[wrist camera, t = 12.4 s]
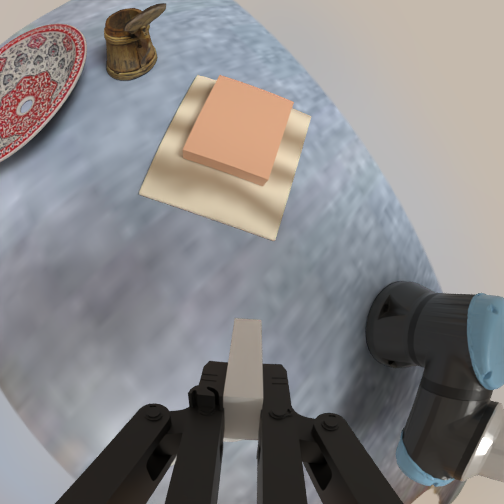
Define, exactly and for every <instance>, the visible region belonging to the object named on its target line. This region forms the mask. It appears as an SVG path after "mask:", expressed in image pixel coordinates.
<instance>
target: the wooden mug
mask: <svg viewBox="0 0 504 504" xmlns="http://www.w3.org/2000/svg"><path fill="white" fill-rule="evenodd" d="M165 9H166V4H164V3H162V4H156V5H153V6H150V7H149V8H147V9H145V10H144V11H141V10H139V9H136V8H129V9H123V10H120V11H118V12H116V13H114V14H112V15H111V16H109V17H108V18H107V20H106V24H105V28H104V37H105V39H106V46H107V72H108V74H109V75H110V76H111V77H113V78H115V79H118V80H131V79H135V78H137V77H139V76H142V75H143V74H145V73H147V72H148V71H149V70H150V69H151V68H152V67H153V66H154V65H155V63H156V61H157V54H156V50H155V48H154V46H153V45H152V42H151V38H150V35H149V28H150V25H149V24H150V23H151V22H152V21H153V20H155V19H156V18H157V17H159V16H160V15H161V14H162V13H163V12H164V11H165Z"/></svg>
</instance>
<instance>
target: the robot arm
mask: <svg viewBox="0 0 504 504" xmlns="http://www.w3.org/2000/svg"><path fill="white" fill-rule="evenodd" d="M366 339H367V344H368V348H369V350H370V352H371V354H372V356H373V357H374V358H375V359H376V360H377V361H378V362H380V363H382V364H384V365H387V366H389V367H393V368H403V367H413V366H421V367H424V372H423V376H422V379H421V382H420V385H419V389H418V392H417V395H416V398H415V401H414V404H413V406H412V409H411V412H410V415H409V417H408V420H407V422H406V425H405V427H404V428H403V430H402V432H401V439H400V441H399V444H398V447H397V450H396V459H397V464H398V466H399V468H400V469H401V470H402V472H403V473H404V474H405V475H406V476H408V477H409V478H410V479H412V480H414V481H415V482H417V483H420V484H423V485H427V486H431V485H432V484H433V485H434V486H435V487H436V486H444V485H447V484H449V483H450V482H452V481H453V480H454V479H457V480H460V481H465V480H467V479H469V478H472V477H474V476H476V475H480V476H484V477H487V478H490V479H494V480H497V481H501V482H504V409H503V407H502V404H501V403H498V402H493V401H491V400H490V398H491V395H492V392H493V390H494V389H498V388H499V387H501V386H502V385H503V384H504V298H503V297H500V296H492V295H486V294H484V293H478V294H476V295H470V294H446V293H435V292H433V291H431V290H429V289H427V288H426V287H424V286H422V285H420V284H418V283H415V282H405V281H401V282H395V283H393V284H391V285H389V286H387V287H386V288H385V289H384V290H383V291H382V292H381V293H380V294H379V295H378V296H377V298H376V299H375V301H374V303H373V305H372V307H371V309H370V312H369V315H368V319H367V325H366ZM188 397H189V407H188V408H186V409H184V410H178V411H169V410H168V409H167V408H166V407H165V406H163V405H160V404H148V405H145V406H143V407H142V408H140V409H139V410H138V412H137V413H136V414H135V415H134V416H133V417H132V418H131V420H130V421H129V422H128V423H127V424H126V425H125V426H124V427H123V429H122V430H121V431H120V432H119V433H118V434H117V435H116V437H115V438H114V439H113V440H112V441H111V442H110V443H109V444H108V446H107V447H106V448H105V449H104V450H103V451H102V452H101V453H100V455H99V456H98V457H97V458H96V459H95V460H94V461H93V462H92V464H91V465H90V466H89V467H88V468H87V469H86V470H85V471H84V472H83V474H82V475H81V476H80V477H79V478H78V479H77V480H76V481H75V482H74V483H73V485H72V486H71V487H70V488H69V489H68V490H67V491H66V492H65V493H64V494H63V496H62V497H61V498H60V499H59V500H58V501H57V502H56V503H55V504H146V503H147V501H148V500H149V498H150V497H151V495H152V494H153V492H154V491H155V489H156V487H157V486H158V484H159V483H160V481H161V480H162V478H163V477H164V475H165V474H166V472H167V470H168V469H169V467H170V466H171V464H172V463H173V461H174V459H175V458H176V461H175V465H174V469H173V473H172V477H171V481H170V485H169V489H168V493H167V497H166V501H165V504H217V499H218V490H219V481H220V472H221V463H222V455H223V438H228V439H244V440H258V450H257V458H256V459H257V504H307V497H306V489H305V481H304V473H303V465H302V462H303V464H304V466H305V468H306V470H307V472H308V474H309V476H310V478H311V480H312V483H313V485H314V487H315V489H316V491H317V493H318V495H319V497H320V499H321V501H322V503H323V504H403V502H402V501H401V500H400V498H399V497H398V495H397V494H396V493H395V491H394V490H393V488H392V487H391V486H390V484H389V483H388V481H387V480H386V478H385V477H384V476H383V474H382V473H381V471H380V470H379V468H378V467H377V466H376V464H375V463H374V461H373V460H372V458H371V457H370V456H369V454H368V453H367V451H366V450H365V448H364V447H363V445H362V444H361V443H360V441H359V440H358V438H357V437H356V435H355V434H354V432H353V431H352V429H351V428H350V427H349V425H348V424H347V422H346V421H345V420H344V419H343V418H342V417H341V416H339V415H337V414H333V413H324V414H321V415H319V416H318V417H317V418H316V419H312V418H308V417H304V416H301V415H299V414H298V413H296V412H295V411H294V409H293V408H292V406H291V399H290V392H289V385H288V379H287V371H286V370H285V368H284V367H283V366H282V365H281V364H262V329H261V320H254V319H237V318H235V321H234V328H233V334H232V341H231V347H230V354H229V361H228V363H227V362H215V361H209V362H208V363H207V364H206V365H205V366H204V368H203V371H202V375H201V379H200V383H199V385H198V386H195V387H193V388H192V389H190V391H189V392H188ZM176 456H177V457H176Z"/></svg>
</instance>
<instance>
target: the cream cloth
mask: <svg viewBox="0 0 504 504" xmlns="http://www.w3.org/2000/svg"><path fill="white" fill-rule="evenodd" d="M215 83H216V80H213V79H210V78H206V77H203V76H199V75H197V77H196V78H195V80H194V82H193V84H192V85H191V87H190V89H189V90H188V92H187V94H186V96H185V98H184V99H183V101H182V103H181V105H180V107H179V109H178V111H177V112H176V114H175V116H174V118H173V120H172V122H171V124H170V126H169V128H168V130H167V132H166V134H165V136H164V138H163V140H162V142H161V144H160V146H159V149H158V151H157V153H156V155H155V157H154V159H153V162H152V164H151V166H150V168H149V171H148V173H147V175H146V177H145V180H144V182H143V185H142V187H141V189H140V192H139V195H141V196H144V197H147V198H150V199H153V200H156V201H159V202H162V203H165V204H168V205H171V206H174V207H177V208H180V209H183V210H186V211H189V212H192V213H194V214H197V215H200V216H203V217H206V218H209V219H212V220H215V221H218V222H220V223H223V224H226V225H229V226H232V227H235V228H238V229H240V230H243V231H246V232H249V233H252V234H255V235H257V236H260V237H263V238H266V239H269V240H271V241H275V239H276V236H277V232H278V229H279V226H280V222H281V219H282V216H283V212H284V209H285V206H286V202H287V199H288V196H289V192H290V189H291V185H292V182H293V178H294V175H295V172H296V168H297V165H298V161H299V158H300V154H301V151H302V147H303V144H304V140H305V137H306V133H307V130H308V126H309V122H310V119H311V116H309V115H307V114H304V113H302V112H300V111H298V110H295V109H293V108H292V109H291V112H290V115H289V119H288V122H287V125H286V128H285V131H284V134H283V137H282V140H281V143H280V146H279V149H278V152H277V155H276V158H275V161H274V164H273V168H272V171H271V174H270V177H269V180H268V181H267V182H266V183H265V185H264V186H260V185H258V184H255V183H252V182H250V181H247V180H244V179H242V178H239V177H236V176H233V175H231V174H228V173H225V172H222V171H219V170H216V169H214V168H211V167H208V166H205V165H202V164H199V163H196V162H193V161H190V160H187V159H184V158H183V148H184V146H185V143H186V141H187V139H188V137H189V135H190V133H191V130H192V128H193V126H194V124H195V122H196V120H197V118H198V116H199V114H200V112H201V110H202V108H203V106H204V104H205V102H206V100H207V98H208V96H209V94H210V92H211V90H212V89H213V87H214V85H215Z"/></svg>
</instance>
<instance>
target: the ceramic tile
mask: <svg viewBox="0 0 504 504" xmlns="http://www.w3.org/2000/svg"><path fill="white" fill-rule="evenodd" d="M293 103H294V102H292V101H290V100H287V99H285V98H283V97H280V96H278V95H275V94H272V93H270V92H267V91H265V90H262V89H259V88H257V87H254V86H251V85H248V84H245V83H243V82H240V81H237V80H234V79H231V78H227V77H224V76H221V75H220V76H219V77H218V79H217V81H216V83H215V85H214V87H213V89H212V90H211V92H210V94H209V96H208V98H207V100H206V102H205V104H204V106H203V108H202V110H201V112H200V114H199V116H198V118H197V120H196V122H195V124H194V126H193V128H192V130H191V133H190V135H189V137H188V139H187V141H186V143H185V146H184V148H183V158H184V159H187V160H190V161H193V162H196V163H199V164H202V165H205V166H208V167H211V168H214V169H216V170H219V171H222V172H225V173H228V174H231V175H233V176H236V177H239V178H242V179H244V180H247V181H250V182H252V183H255V184H258V185H260V186H264V185H265V183H266V182H267V181H268V180H269V177H270V174H271V171H272V168H273V164H274V161H275V158H276V155H277V152H278V149H279V146H280V143H281V140H282V137H283V134H284V131H285V128H286V125H287V122H288V119H289V115H290V112H291V109H292V106H293Z"/></svg>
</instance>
